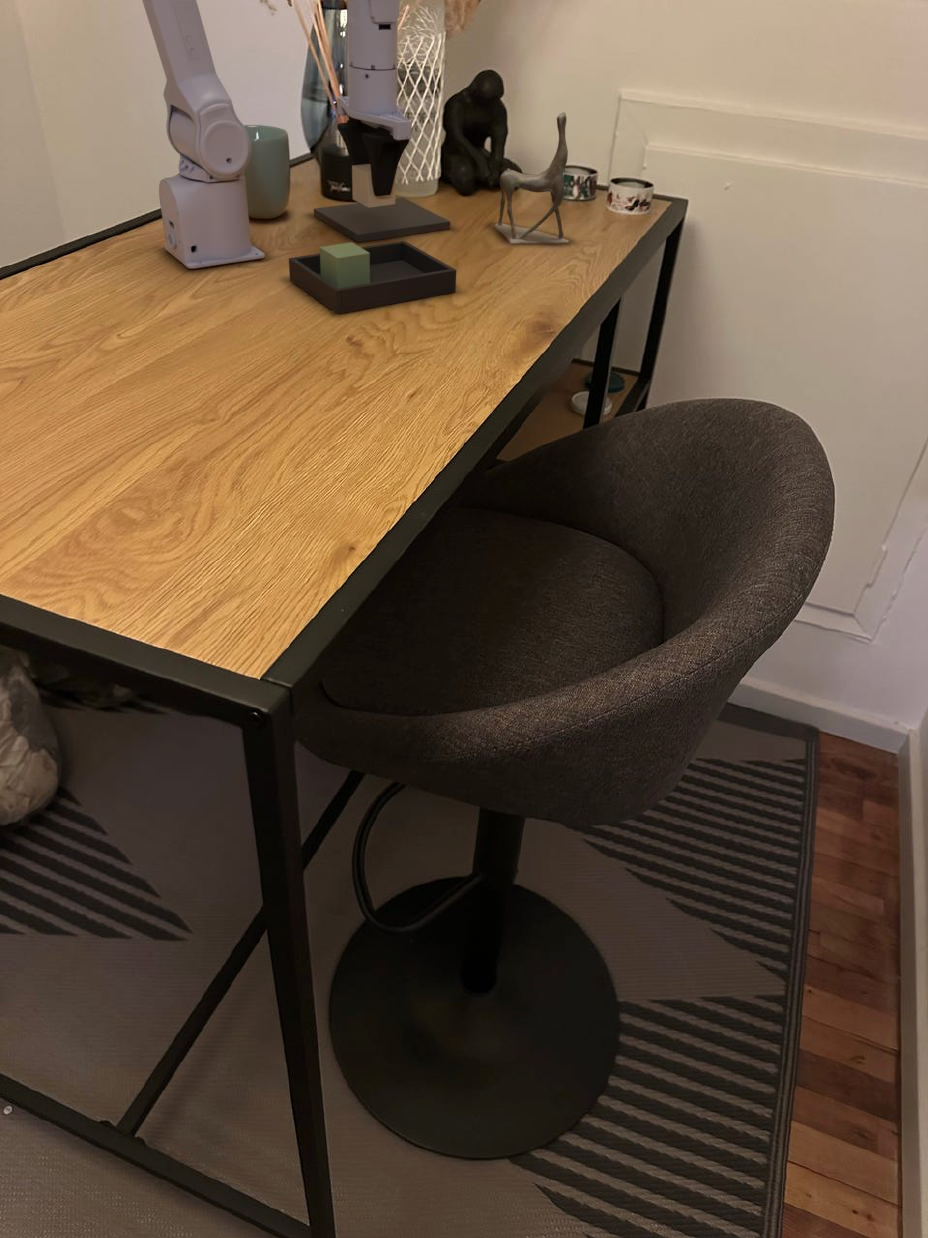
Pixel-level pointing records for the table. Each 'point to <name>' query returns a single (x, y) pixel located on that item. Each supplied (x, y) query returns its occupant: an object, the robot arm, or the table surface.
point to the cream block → (368, 188)
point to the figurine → (536, 183)
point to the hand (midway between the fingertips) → (373, 190)
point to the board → (381, 220)
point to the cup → (267, 172)
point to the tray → (378, 278)
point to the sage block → (345, 265)
